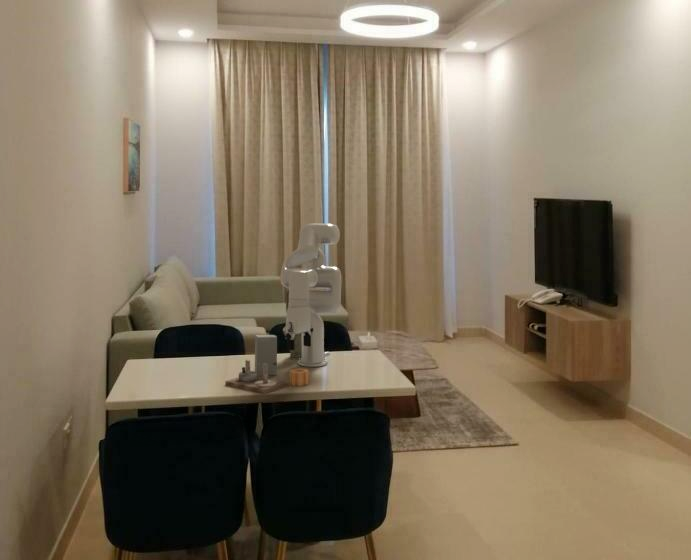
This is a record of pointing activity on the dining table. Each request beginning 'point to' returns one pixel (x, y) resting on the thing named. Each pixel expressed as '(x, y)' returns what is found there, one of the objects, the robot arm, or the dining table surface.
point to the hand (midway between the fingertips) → (299, 347)
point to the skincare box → (266, 354)
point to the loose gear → (299, 377)
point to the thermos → (295, 337)
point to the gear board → (256, 380)
